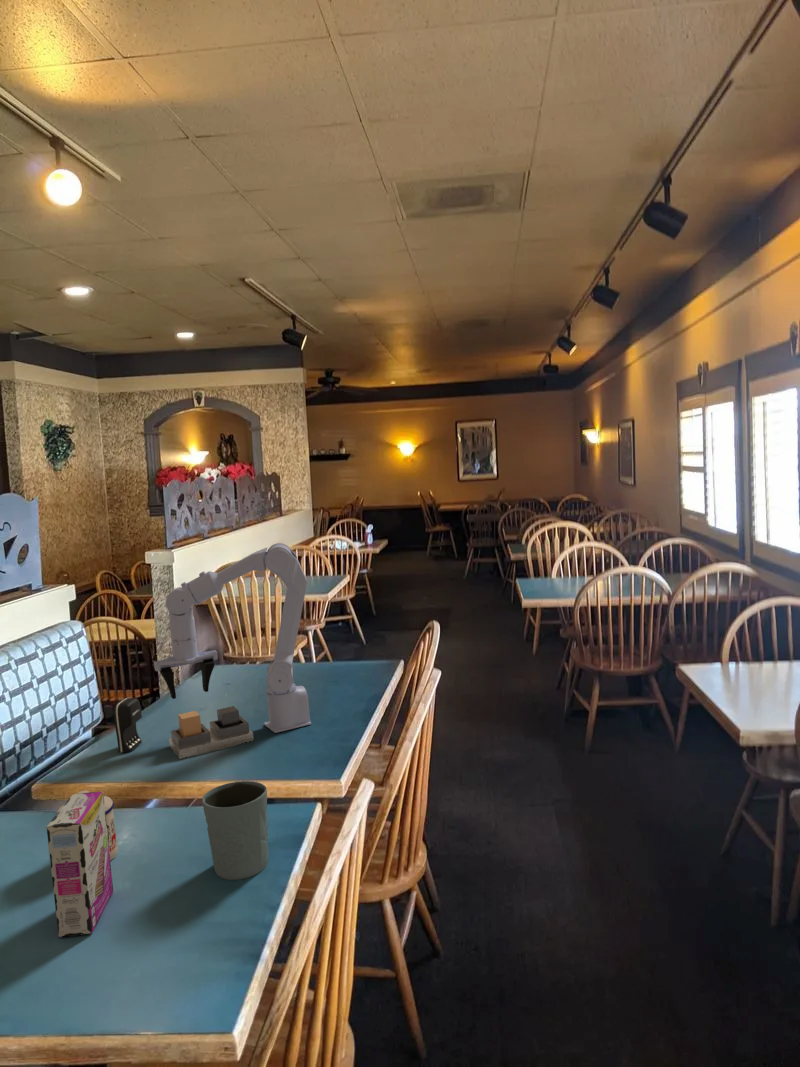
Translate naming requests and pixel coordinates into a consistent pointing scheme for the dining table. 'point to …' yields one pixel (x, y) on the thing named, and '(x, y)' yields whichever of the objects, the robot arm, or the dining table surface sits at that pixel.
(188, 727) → the plug
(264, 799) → the grey cup
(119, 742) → the battery
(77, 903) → the candy bar box
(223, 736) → the power strip
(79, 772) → the dining table surface
